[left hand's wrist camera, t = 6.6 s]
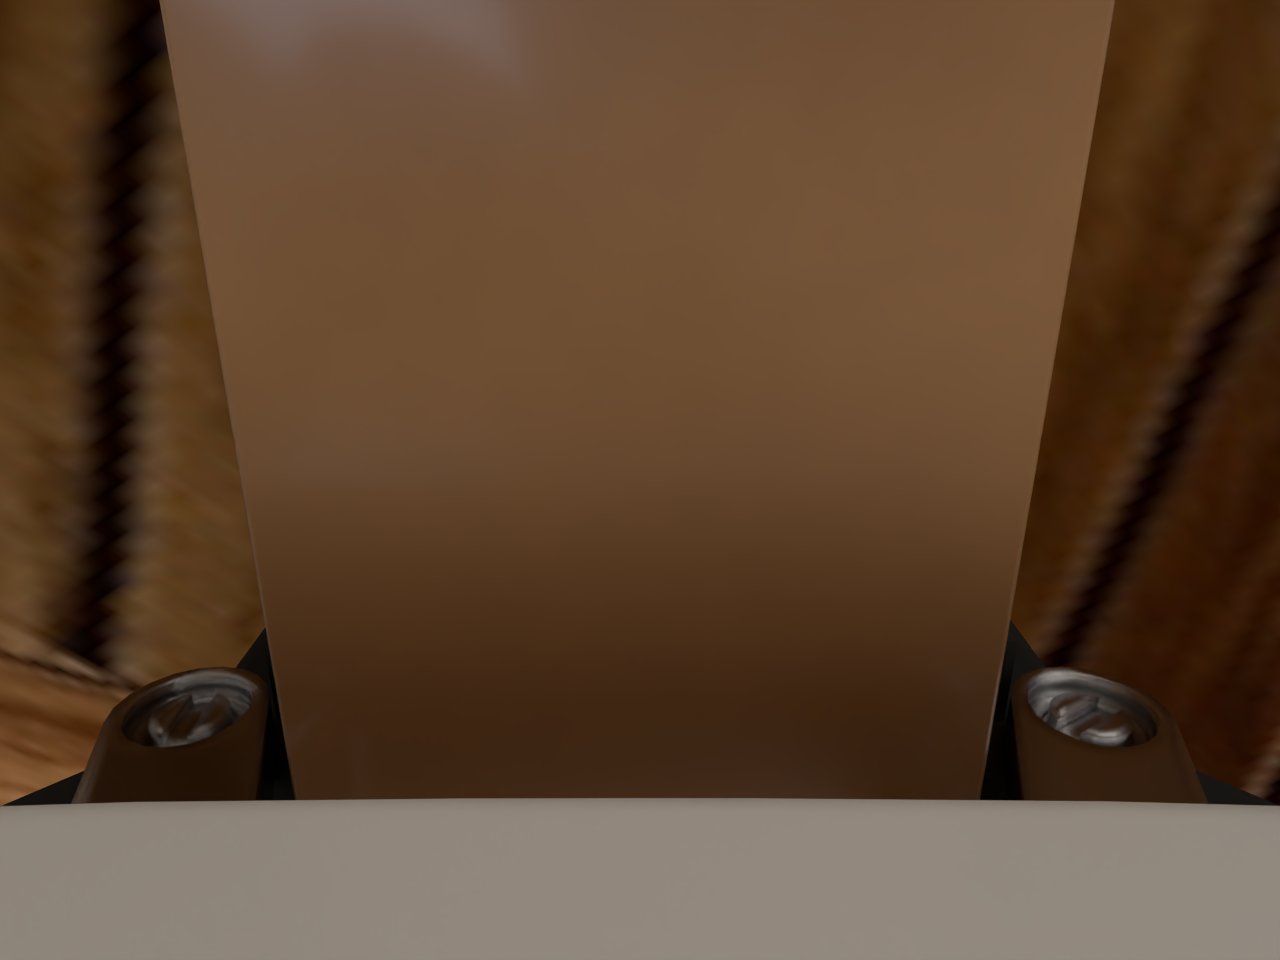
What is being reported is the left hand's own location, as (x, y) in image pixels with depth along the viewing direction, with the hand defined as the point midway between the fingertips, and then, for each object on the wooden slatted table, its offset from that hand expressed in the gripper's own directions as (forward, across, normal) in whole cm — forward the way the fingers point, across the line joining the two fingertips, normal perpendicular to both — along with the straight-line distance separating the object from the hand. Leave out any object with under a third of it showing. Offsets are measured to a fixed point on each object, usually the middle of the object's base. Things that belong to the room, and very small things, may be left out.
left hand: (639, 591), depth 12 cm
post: (+3, 0, -18) cm, 18 cm away
